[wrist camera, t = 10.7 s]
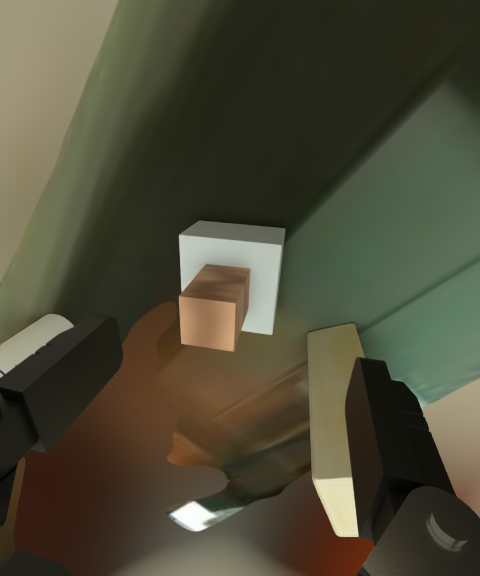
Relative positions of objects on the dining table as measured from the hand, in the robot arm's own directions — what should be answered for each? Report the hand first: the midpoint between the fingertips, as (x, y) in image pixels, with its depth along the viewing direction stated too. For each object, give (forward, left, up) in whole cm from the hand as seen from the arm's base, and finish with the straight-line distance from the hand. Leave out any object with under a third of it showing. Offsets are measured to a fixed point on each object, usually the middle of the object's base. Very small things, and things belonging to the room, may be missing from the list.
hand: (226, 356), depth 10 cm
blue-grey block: (+5, +8, -29) cm, 30 cm away
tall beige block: (-10, +19, -29) cm, 36 cm away
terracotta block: (+5, +8, -22) cm, 24 cm away
